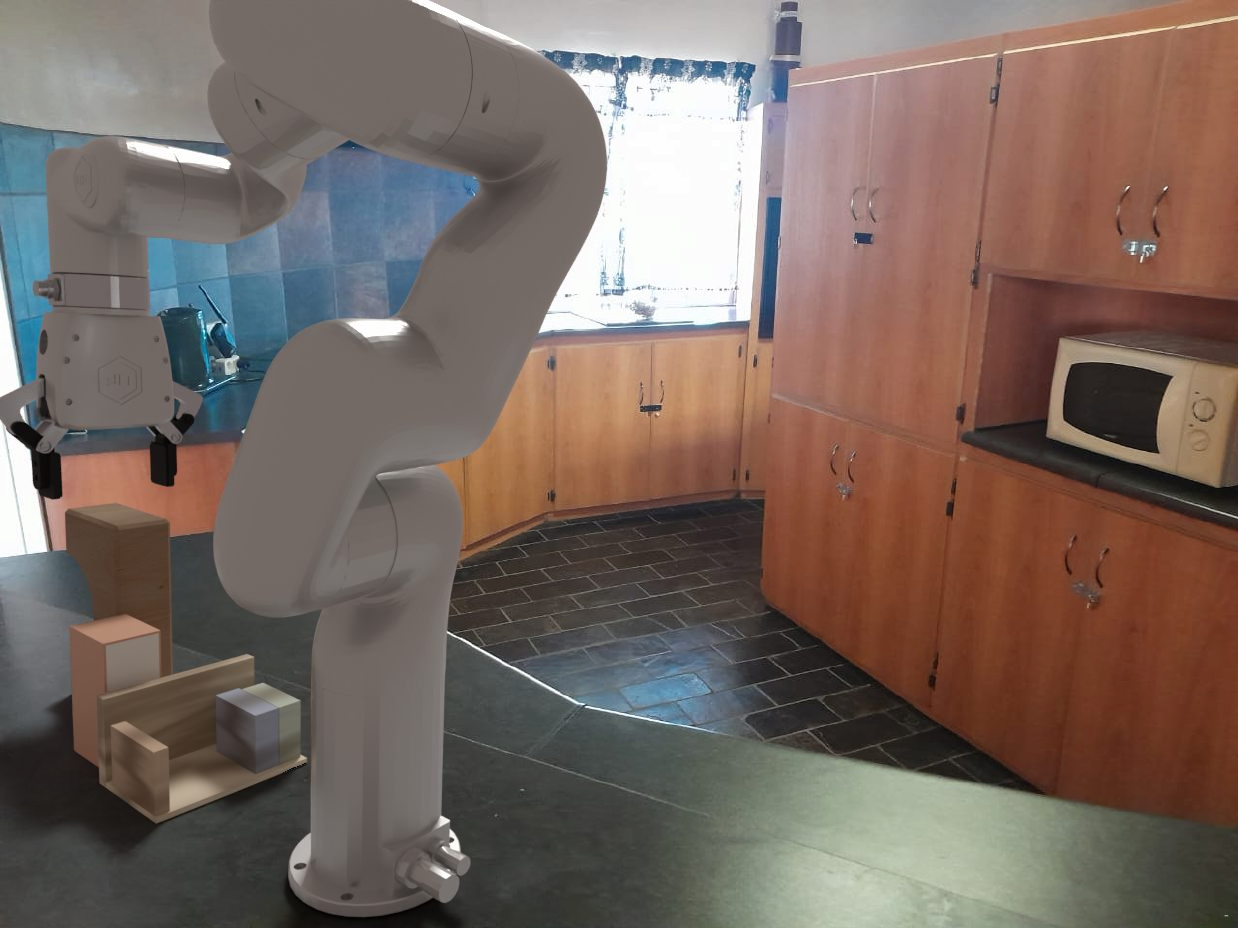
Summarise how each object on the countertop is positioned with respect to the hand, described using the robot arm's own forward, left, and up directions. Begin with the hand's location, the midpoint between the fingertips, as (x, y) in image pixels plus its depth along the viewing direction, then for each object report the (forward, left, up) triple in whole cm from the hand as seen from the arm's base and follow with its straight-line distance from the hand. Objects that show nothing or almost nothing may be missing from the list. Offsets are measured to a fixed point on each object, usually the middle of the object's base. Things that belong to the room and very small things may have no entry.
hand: (109, 490), depth 83 cm
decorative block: (+10, -5, -25) cm, 27 cm away
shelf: (-11, -3, -24) cm, 27 cm away
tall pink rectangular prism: (-1, 0, -25) cm, 25 cm away
